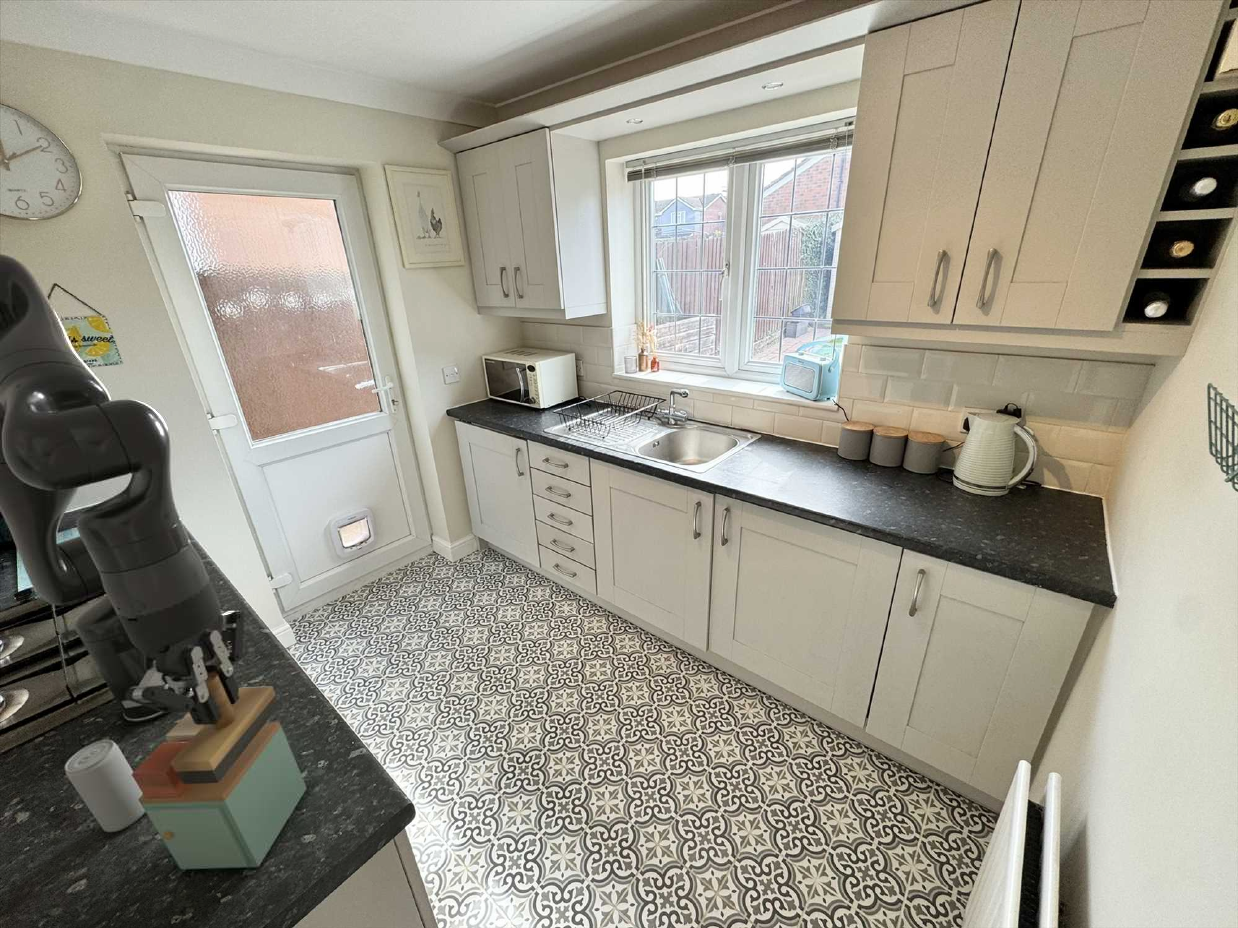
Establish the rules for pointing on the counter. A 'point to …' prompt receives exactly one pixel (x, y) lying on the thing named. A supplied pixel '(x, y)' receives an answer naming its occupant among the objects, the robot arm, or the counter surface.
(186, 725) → the cream block
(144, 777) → the terracotta block
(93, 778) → the beverage can
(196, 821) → the cupboard
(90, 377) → the robot arm
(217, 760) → the brush
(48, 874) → the counter surface
